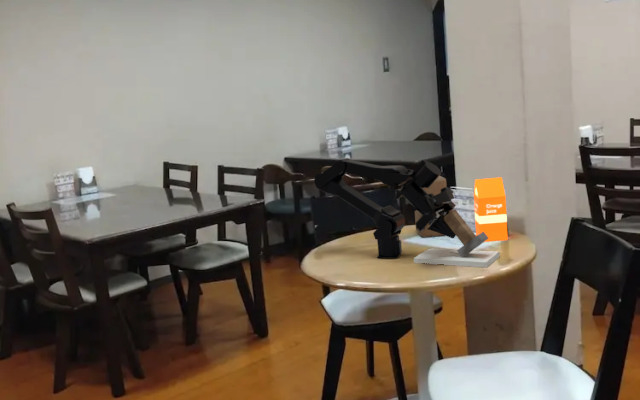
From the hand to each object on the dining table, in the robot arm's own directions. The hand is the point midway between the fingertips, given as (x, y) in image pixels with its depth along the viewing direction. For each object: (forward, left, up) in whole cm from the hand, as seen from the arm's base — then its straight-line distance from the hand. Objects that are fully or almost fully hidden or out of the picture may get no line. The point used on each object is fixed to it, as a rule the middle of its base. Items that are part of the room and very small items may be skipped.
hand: (456, 236), depth 196 cm
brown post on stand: (+6, -1, -3) cm, 7 cm away
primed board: (0, 0, -7) cm, 7 cm away
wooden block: (-14, +35, -7) cm, 38 cm away
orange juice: (+7, +27, -7) cm, 29 cm away
